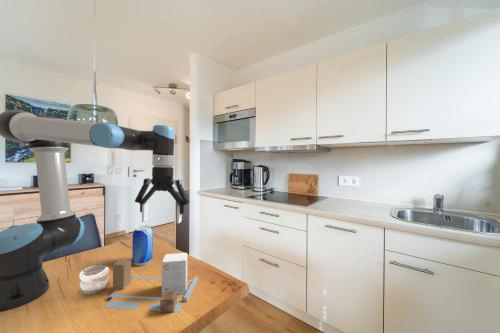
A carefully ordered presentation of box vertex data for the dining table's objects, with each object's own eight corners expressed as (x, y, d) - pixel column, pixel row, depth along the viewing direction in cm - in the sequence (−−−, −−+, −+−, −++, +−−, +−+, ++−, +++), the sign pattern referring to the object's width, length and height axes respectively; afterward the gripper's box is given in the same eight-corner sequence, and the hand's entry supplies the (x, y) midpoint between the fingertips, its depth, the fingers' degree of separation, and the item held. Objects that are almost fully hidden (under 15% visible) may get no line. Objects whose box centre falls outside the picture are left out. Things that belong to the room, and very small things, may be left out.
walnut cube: (160, 312, 63) (160, 300, 63) (163, 303, 67) (164, 291, 67) (173, 312, 64) (173, 299, 63) (176, 303, 68) (176, 291, 67)
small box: (187, 285, 79) (187, 252, 78) (185, 296, 73) (186, 260, 72) (164, 288, 77) (165, 253, 77) (161, 299, 71) (161, 262, 71)
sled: (104, 299, 70) (104, 270, 70) (127, 279, 82) (127, 254, 82) (186, 305, 68) (187, 275, 68) (198, 283, 81) (198, 258, 80)
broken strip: (104, 310, 65) (104, 307, 65) (111, 304, 68) (111, 300, 68) (179, 315, 64) (179, 312, 64) (182, 309, 67) (182, 305, 67)
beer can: (127, 265, 93) (128, 229, 93) (141, 256, 101) (142, 224, 101) (143, 267, 91) (144, 231, 91) (156, 259, 99) (156, 226, 99)
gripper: (125, 165, 76) (124, 222, 76) (192, 168, 75) (190, 226, 75) (137, 165, 83) (136, 217, 84) (198, 167, 82) (196, 220, 83)
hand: (161, 221), depth 80 cm, fingers open, 13 cm apart
